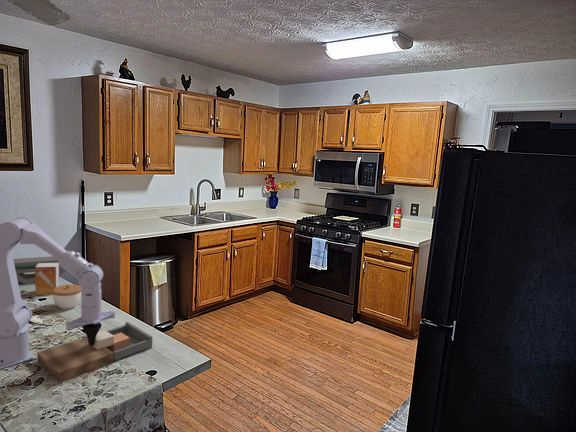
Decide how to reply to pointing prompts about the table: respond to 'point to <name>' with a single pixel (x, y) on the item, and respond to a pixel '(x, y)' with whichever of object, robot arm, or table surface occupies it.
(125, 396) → the table surface
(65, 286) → the lidded jar
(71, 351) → the brown wooden board
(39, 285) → the small box
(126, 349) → the tray
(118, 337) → the terracotta tile
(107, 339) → the cream tile
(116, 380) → the table surface
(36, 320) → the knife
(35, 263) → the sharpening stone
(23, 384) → the table surface
